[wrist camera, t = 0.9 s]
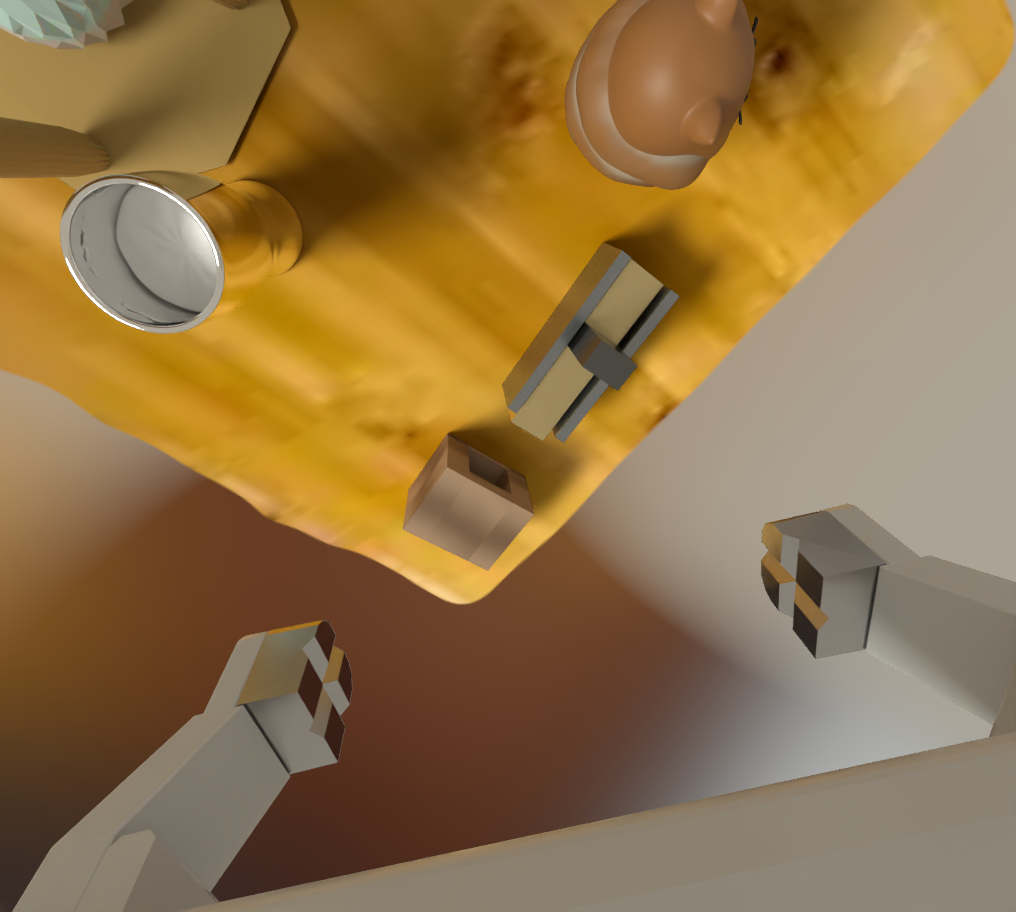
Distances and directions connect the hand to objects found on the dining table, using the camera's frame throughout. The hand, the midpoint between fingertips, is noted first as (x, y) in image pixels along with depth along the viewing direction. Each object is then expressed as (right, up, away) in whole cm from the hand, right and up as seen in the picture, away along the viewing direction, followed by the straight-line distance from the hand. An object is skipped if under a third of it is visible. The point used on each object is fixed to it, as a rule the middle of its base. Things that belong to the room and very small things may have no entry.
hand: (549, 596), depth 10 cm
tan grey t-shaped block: (+4, +11, +31) cm, 33 cm away
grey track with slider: (+5, +12, +32) cm, 34 cm away
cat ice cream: (+5, +25, +25) cm, 36 cm away
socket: (-4, 0, +37) cm, 37 cm away
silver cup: (-18, +18, +27) cm, 37 cm away
